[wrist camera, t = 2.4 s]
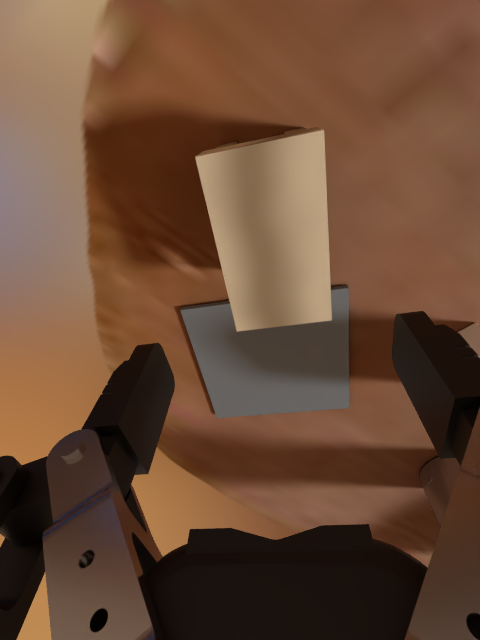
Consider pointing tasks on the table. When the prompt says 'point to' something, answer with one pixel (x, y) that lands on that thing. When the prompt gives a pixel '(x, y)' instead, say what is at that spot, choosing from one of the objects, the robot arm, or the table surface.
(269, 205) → the tan legged block
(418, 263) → the table surface
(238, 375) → the mat
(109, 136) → the table surface
